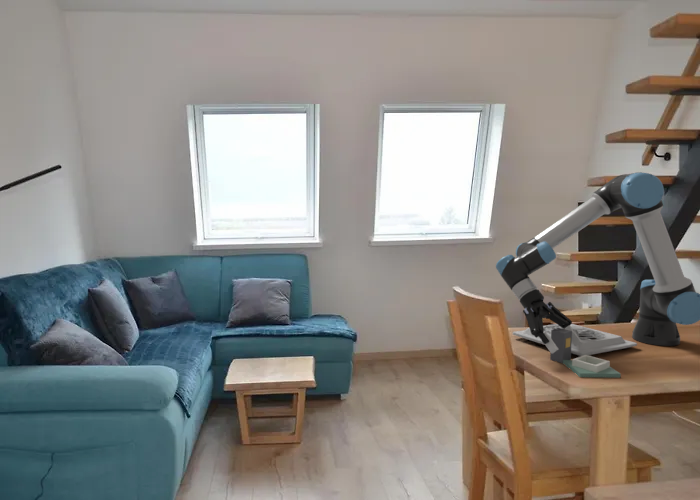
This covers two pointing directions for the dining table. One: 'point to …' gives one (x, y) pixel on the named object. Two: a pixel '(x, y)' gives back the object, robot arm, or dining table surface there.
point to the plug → (561, 344)
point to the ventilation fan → (584, 340)
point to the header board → (592, 374)
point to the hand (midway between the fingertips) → (567, 347)
